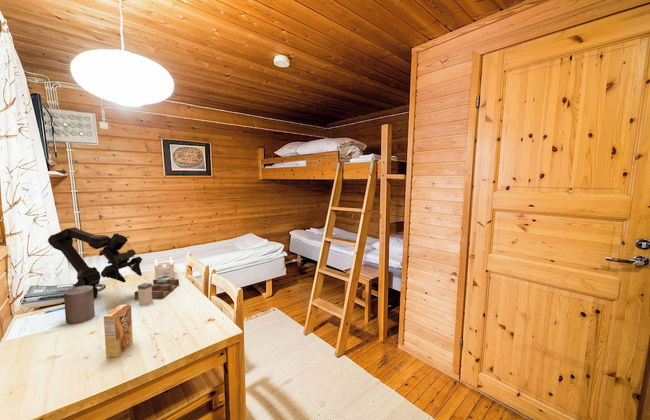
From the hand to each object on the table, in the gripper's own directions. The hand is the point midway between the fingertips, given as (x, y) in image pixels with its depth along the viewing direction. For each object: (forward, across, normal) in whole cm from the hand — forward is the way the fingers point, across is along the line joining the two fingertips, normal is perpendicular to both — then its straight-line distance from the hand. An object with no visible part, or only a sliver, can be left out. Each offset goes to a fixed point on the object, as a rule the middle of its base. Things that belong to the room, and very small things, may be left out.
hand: (133, 278), depth 135 cm
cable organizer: (0, +34, +18) cm, 39 cm away
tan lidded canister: (+14, 0, +4) cm, 14 cm away
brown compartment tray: (+10, +14, +8) cm, 19 cm away
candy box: (+29, -34, -11) cm, 46 cm away
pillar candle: (+3, -19, +15) cm, 24 cm away
